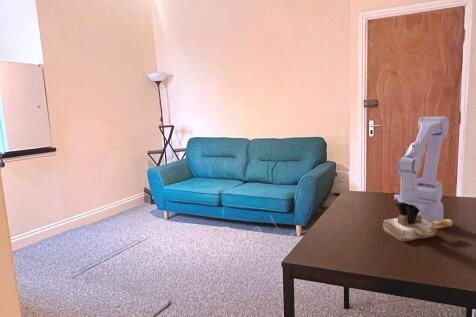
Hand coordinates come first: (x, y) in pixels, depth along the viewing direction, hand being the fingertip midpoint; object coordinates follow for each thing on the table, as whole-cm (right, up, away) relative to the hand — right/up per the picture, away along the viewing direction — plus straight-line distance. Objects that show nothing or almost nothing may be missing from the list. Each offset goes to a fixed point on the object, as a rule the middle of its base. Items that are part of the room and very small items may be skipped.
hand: (408, 221), depth 132 cm
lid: (+1, -2, -1) cm, 2 cm away
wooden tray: (0, -4, +1) cm, 4 cm away
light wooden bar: (+10, -1, -6) cm, 11 cm away
